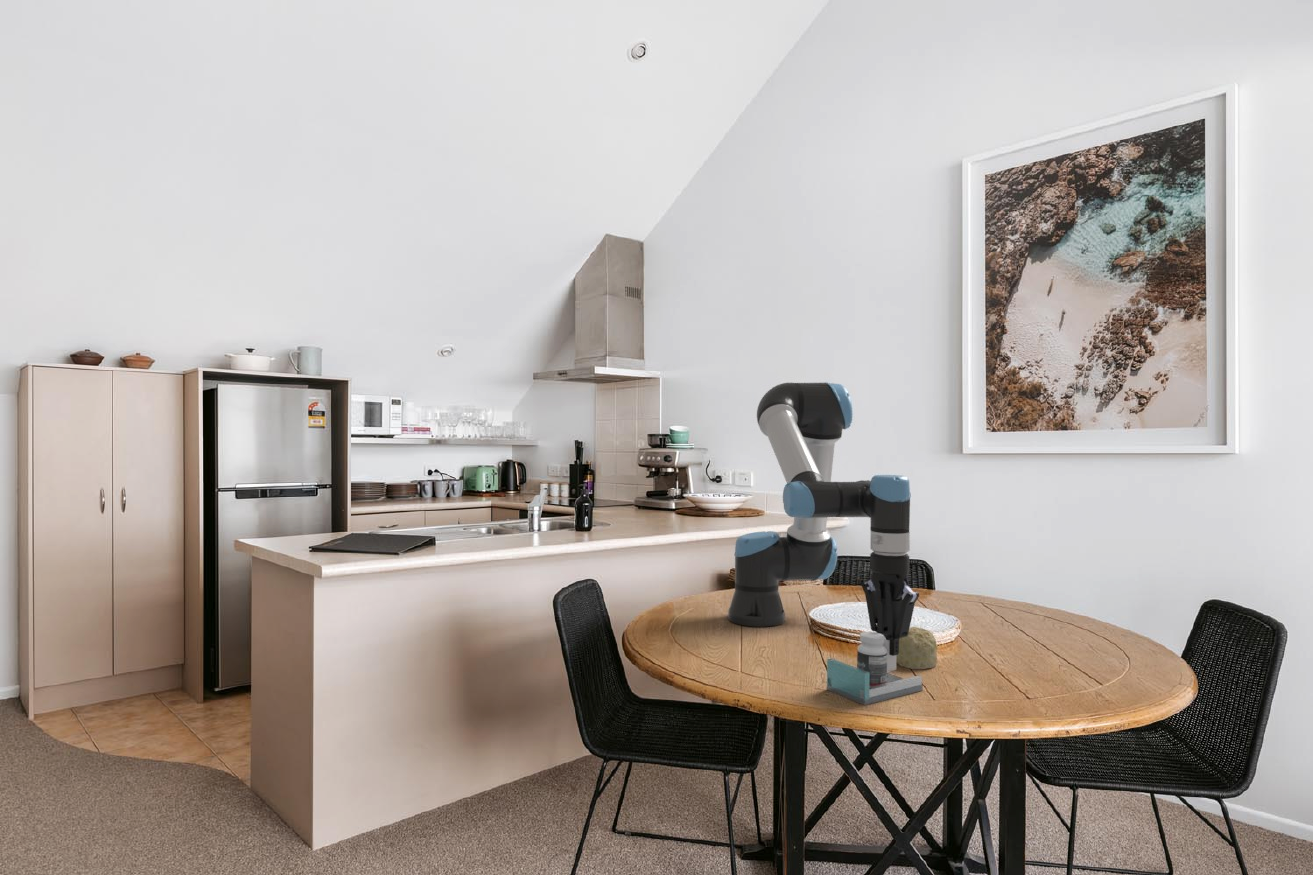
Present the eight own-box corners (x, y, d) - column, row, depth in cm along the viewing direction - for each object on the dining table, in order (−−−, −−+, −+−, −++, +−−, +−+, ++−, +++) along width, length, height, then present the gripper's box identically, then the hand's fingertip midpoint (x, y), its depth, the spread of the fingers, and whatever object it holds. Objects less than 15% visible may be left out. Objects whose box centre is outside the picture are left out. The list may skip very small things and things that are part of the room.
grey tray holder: (883, 676, 160) (884, 647, 160) (922, 690, 151) (922, 660, 151) (826, 689, 152) (827, 659, 152) (864, 705, 143) (864, 673, 143)
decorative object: (939, 678, 169) (934, 634, 175) (940, 665, 161) (935, 619, 167) (895, 678, 172) (891, 635, 177) (894, 665, 164) (890, 620, 169)
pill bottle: (852, 680, 154) (853, 631, 154) (880, 679, 155) (880, 630, 155) (862, 689, 149) (863, 638, 148) (891, 689, 149) (891, 638, 149)
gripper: (852, 549, 157) (851, 664, 157) (902, 559, 146) (901, 682, 146) (877, 546, 161) (877, 658, 161) (929, 555, 150) (928, 675, 150)
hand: (888, 669), depth 154 cm, fingers closed
